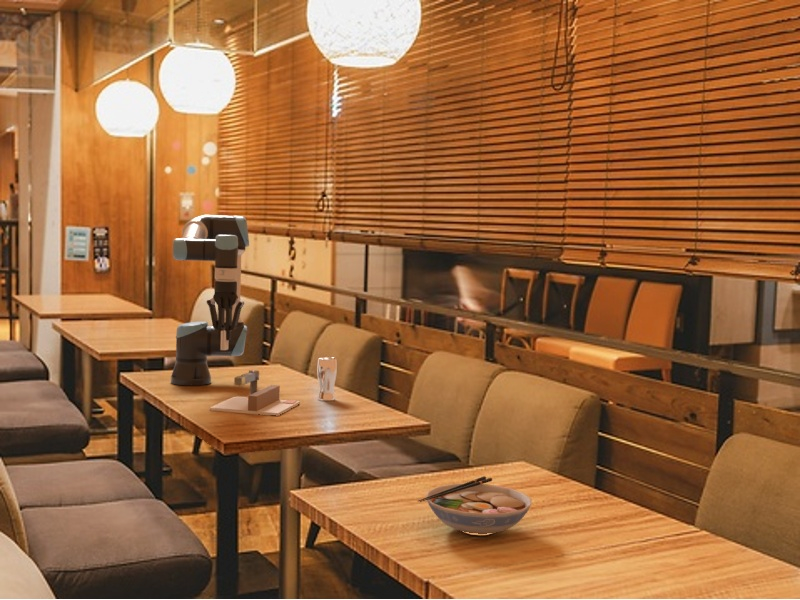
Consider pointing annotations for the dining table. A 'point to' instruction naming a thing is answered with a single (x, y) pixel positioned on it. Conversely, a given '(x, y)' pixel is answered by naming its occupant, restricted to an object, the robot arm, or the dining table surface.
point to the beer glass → (326, 377)
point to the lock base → (243, 406)
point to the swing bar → (246, 378)
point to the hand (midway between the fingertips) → (224, 349)
